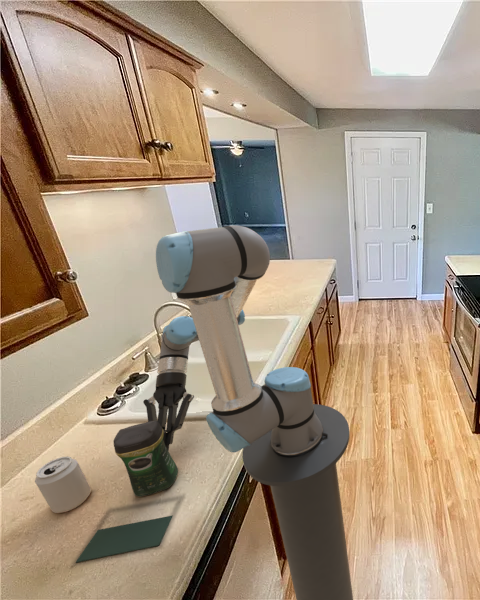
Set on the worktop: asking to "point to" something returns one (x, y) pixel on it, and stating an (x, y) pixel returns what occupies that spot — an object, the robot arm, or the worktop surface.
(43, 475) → the can
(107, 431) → the worktop surface
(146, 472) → the coffee jar
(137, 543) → the mat
